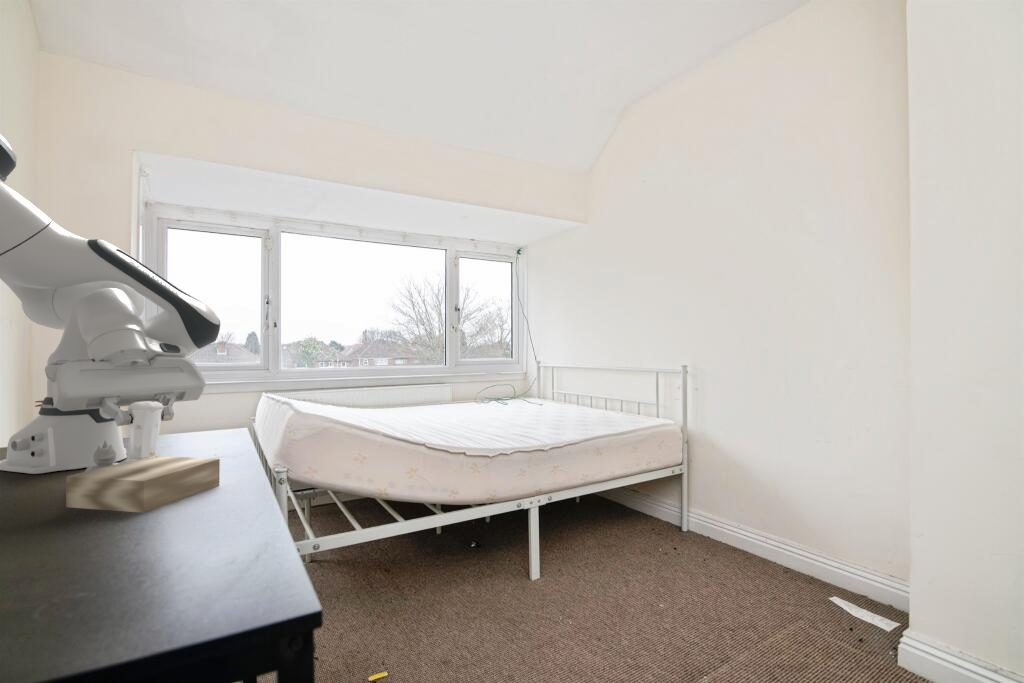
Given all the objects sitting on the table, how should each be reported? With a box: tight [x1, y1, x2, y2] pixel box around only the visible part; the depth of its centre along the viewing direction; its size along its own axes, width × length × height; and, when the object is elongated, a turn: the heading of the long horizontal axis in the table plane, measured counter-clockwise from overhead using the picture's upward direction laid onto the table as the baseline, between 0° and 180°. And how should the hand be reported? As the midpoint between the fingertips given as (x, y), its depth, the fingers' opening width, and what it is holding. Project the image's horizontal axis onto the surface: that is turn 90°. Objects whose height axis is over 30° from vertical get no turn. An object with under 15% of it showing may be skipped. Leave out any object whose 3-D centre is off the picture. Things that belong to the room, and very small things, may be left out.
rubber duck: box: [84, 441, 120, 472], centre depth 84 cm, size 5×7×8 cm
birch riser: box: [65, 455, 221, 514], centre depth 78 cm, size 14×14×5 cm
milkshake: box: [127, 395, 165, 460], centre depth 78 cm, size 4×5×10 cm
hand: (147, 420), depth 77 cm, fingers closed on milkshake, 4 cm apart
